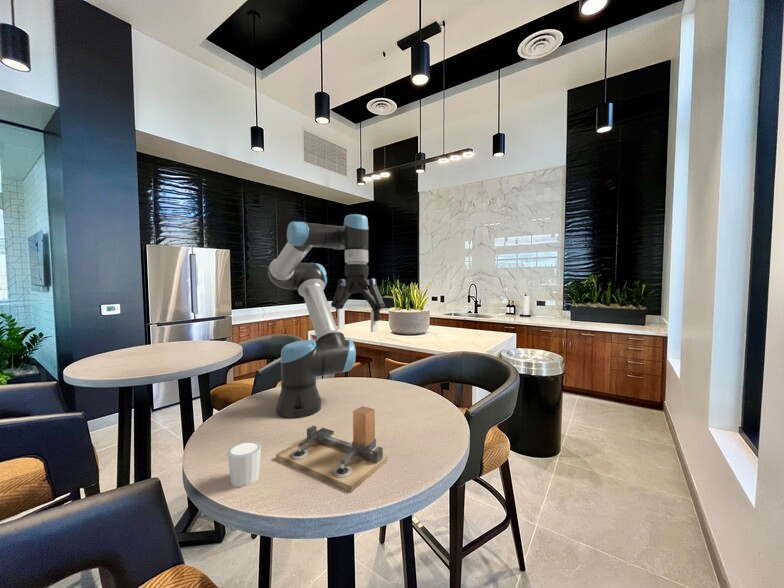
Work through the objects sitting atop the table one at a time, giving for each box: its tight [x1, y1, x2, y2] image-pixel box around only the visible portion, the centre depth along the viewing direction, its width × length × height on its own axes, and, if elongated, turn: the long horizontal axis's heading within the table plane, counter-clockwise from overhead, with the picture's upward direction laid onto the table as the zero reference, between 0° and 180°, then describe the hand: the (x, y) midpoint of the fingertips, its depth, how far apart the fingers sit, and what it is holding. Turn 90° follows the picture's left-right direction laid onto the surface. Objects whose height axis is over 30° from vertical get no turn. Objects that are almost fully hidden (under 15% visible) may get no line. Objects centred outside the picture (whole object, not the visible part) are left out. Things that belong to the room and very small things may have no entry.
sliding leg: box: [341, 405, 377, 471], centre depth 75 cm, size 4×11×11 cm, turn 148°
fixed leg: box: [298, 427, 335, 454], centre depth 83 cm, size 4×11×2 cm, turn 148°
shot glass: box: [226, 440, 262, 488], centre depth 71 cm, size 7×7×7 cm
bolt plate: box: [275, 425, 389, 493], centre depth 78 cm, size 24×14×4 cm, turn 58°
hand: (357, 330), depth 103 cm, fingers open, 13 cm apart
